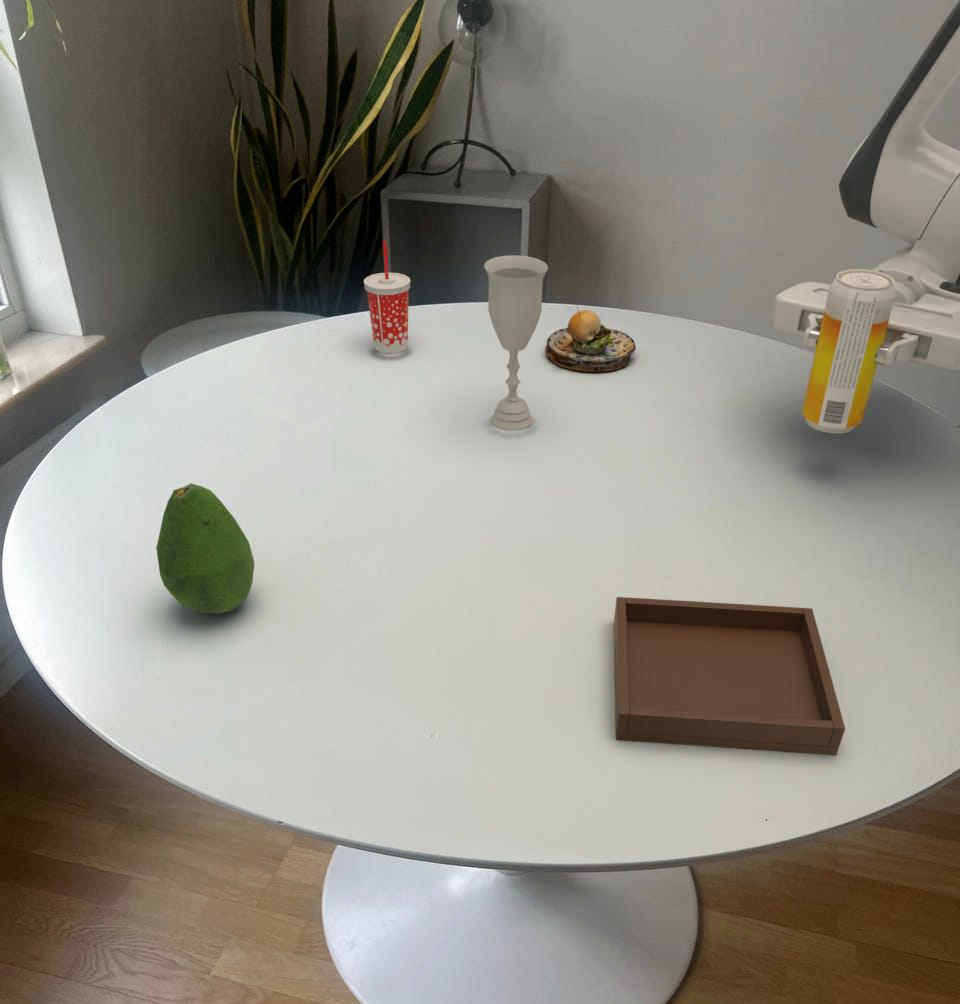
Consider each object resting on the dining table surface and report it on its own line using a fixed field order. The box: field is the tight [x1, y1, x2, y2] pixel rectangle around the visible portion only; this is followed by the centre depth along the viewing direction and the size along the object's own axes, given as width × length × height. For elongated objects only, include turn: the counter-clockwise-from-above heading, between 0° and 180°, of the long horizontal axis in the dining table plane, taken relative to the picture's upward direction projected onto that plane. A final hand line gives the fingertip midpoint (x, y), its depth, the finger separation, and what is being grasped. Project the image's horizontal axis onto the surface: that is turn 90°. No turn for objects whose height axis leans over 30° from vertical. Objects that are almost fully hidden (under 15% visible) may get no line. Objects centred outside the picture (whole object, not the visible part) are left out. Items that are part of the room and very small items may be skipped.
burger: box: [545, 303, 637, 373], centre depth 127 cm, size 12×12×8 cm
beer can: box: [801, 268, 896, 434], centre depth 97 cm, size 6×6×15 cm
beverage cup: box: [363, 239, 412, 355], centre depth 127 cm, size 6×6×14 cm
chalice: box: [483, 254, 549, 431], centre depth 109 cm, size 7×7×18 cm
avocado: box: [156, 483, 255, 615], centre depth 83 cm, size 8×8×12 cm
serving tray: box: [613, 596, 846, 756], centre depth 78 cm, size 17×15×3 cm
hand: (846, 349), depth 96 cm, fingers closed on beer can, 6 cm apart
